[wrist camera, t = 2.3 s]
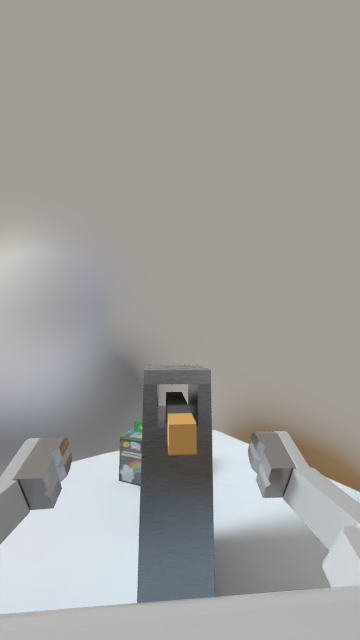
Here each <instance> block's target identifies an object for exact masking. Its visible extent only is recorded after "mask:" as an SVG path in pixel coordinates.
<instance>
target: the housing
mask: <svg viewBox="0 0 360 640" xmlns="http://www.w3.org/2000/svg"><path fill="white" fill-rule="evenodd" d="M159 384H188V407H189V409H190V411H191V413H192V415H193V418H194V420H195V422H196V427H197V454H184V455H168V437H167V418H166V406H158V397H159V394H158V393H159ZM143 390H144V391H143V422H142V455H141V489H140V523H139V557H138V591H137V603H144V602H157V601H169V600H182V599H194V598H206V597H215V579H214V525H213V472H212V418H211V371H210V370H209V369H206V368H204V367H201V366H199V365H149V366H148V367H147V368H146V369H145V370H144V388H143Z"/></svg>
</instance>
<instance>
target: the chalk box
mask: <svg viewBox="0 0 360 640" xmlns="http://www.w3.org/2000/svg"><path fill="white" fill-rule="evenodd" d="M142 422H143V421H138V420H134V428H133V429H131V430H129V431H127V433H125V434H124V435H122V436H121V437H120V464H119V481H120V480H121V481H125V482H129V483H133V484H137V485H141V455H142V427H141V426H138V425H139V424H142Z"/></svg>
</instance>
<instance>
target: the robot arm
mask: <svg viewBox="0 0 360 640" xmlns="http://www.w3.org/2000/svg"><path fill="white" fill-rule="evenodd" d="M251 440H252V443H251V444H250V445H249V448H248V455H249V460H250V464H251V467H252V469H253V470H254V471H255V472H256V473H257V474H258V475H257V479H256V481H257V483H258V486H259V489H260V491H261V494H262V497H263V498H274V497H283V499H284V500H285V501H286V503H287V504H288V505H289V506H290V507H291V508H292V509H293V511H294V512H295V513H296V514H297V515H298V516H299V517H300V518H301V520H302V521H303V522H304V523H305V524H306V525H307V526H308V528H309V529H310V530H311V531H312V532H313V533H314V534H315V535H316V537H317V538H318V539H319V540H320V541H321V542H322V543H323V545H324V546H325V547H326V548H327V549H328V550H329V552H328V554H327V556H326V558H325V559H324V561H323V564H322V568H323V570H324V572H325V575H326V577H327V579H328V581H329V583H330V585H331V587H330V588H318V589H305V590H293V591H281V592H268V593H256V594H244V595H231V596H219V597H206V598H194V599H182V600H169V601H157V602H144V603H132V604H120V605H107V606H95V607H83V608H70V609H58V610H45V611H33V612H21V613H8V614H0V640H360V504H359V503H358V502H356V501H355V500H354V499H353V498H351V497H350V496H349V495H347V494H346V493H345V492H344V491H342V490H341V489H340V488H338V487H337V486H336V485H335V484H333V483H332V482H331V481H329V480H328V479H327V478H326V477H324V476H323V475H322V474H321V473H319V472H318V471H317V470H315V469H314V468H310V467H309V466H308V464H307V463H306V461H305V459H304V458H303V456H302V455H301V453H300V452H299V450H298V448H297V447H296V445H295V443H294V442H293V440H292V439H291V437H290V435H289V434H288V433H287V432H286V431H275V432H274V431H268V432H253V433H252V434H251ZM68 445H69V441H68V438H33V439H31V438H30V439H28V440H27V441H26V442H25V443H24V444H23V445H22V447H21V448H20V450H19V451H18V453H17V454H16V455H15V457H14V458H13V460H12V461H11V463H10V464H9V465H8V467H7V468H6V470H5V471H4V473H3V474H2V475H1V477H0V544H1V543H2V542H3V541H4V540H5V539H6V538H7V536H8V535H9V534H10V533H11V532H12V531H13V530H14V529H15V528H16V527H17V526H18V524H19V523H20V522H21V521H22V520H23V519H24V518H25V517H26V516H27V515H28V513H29V512H30V510H38V509H50V508H54V506H55V503H56V501H57V499H58V496H59V494H60V492H61V489H62V487H61V483H60V482H61V481H62V480H64V479H65V478H66V477H67V475H68V472H69V470H70V466H71V462H72V453H71V451H70V450H69V449H68V448H67V447H68Z"/></svg>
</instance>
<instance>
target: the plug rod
mask: <svg viewBox="0 0 360 640" xmlns="http://www.w3.org/2000/svg"><path fill="white" fill-rule="evenodd" d="M166 418H167V437H168V455H184V454H197V427H196V422H195V420H194V418H193V415H192V413H191V411H190V409H189V407H188V405H187V402H186V400H185V398H184V396H183V394H182V392H166Z"/></svg>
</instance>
